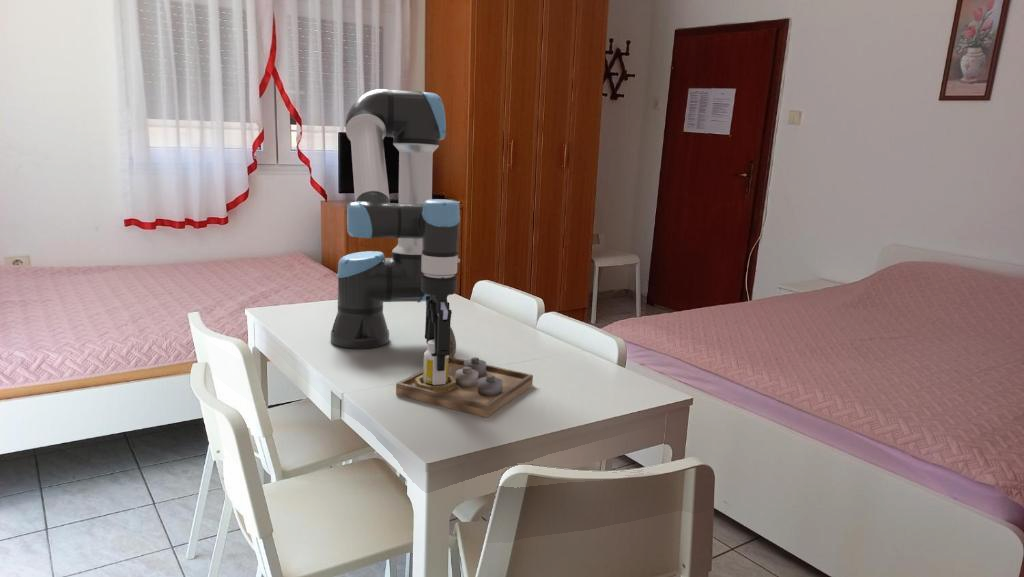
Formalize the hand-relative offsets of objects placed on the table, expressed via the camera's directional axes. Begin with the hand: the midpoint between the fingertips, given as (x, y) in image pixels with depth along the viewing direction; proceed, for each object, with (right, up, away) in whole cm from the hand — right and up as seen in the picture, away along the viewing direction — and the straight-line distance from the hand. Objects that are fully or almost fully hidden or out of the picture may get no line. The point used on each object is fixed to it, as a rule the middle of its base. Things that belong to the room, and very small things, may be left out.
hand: (435, 378), depth 152 cm
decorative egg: (0, +1, +20) cm, 20 cm away
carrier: (+6, -3, +3) cm, 8 cm away
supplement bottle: (0, -2, 0) cm, 2 cm away
